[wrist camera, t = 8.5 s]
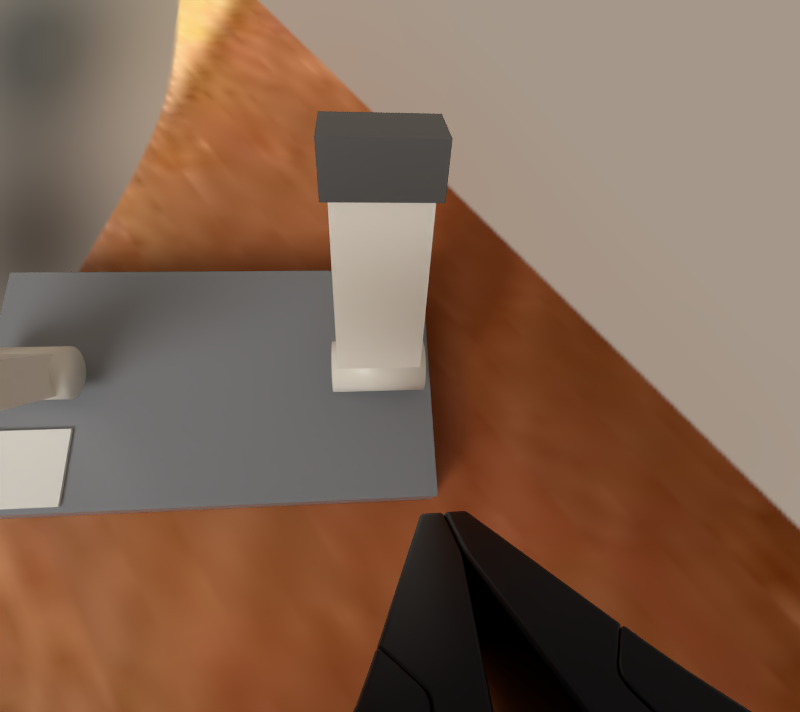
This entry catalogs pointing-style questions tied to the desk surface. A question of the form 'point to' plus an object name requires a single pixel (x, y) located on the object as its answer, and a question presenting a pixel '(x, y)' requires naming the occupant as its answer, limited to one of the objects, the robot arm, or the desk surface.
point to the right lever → (380, 240)
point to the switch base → (201, 399)
